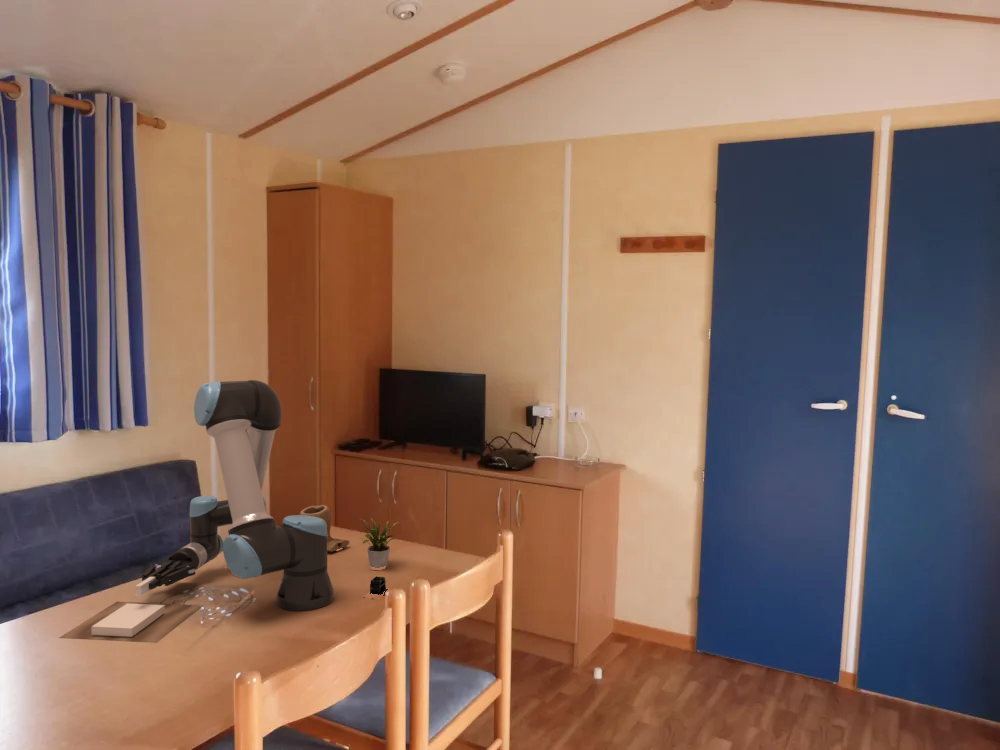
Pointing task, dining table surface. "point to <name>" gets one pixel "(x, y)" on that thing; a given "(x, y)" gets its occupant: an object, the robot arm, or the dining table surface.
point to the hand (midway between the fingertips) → (138, 591)
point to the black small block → (378, 585)
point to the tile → (128, 620)
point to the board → (149, 634)
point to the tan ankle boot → (325, 514)
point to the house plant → (378, 545)
